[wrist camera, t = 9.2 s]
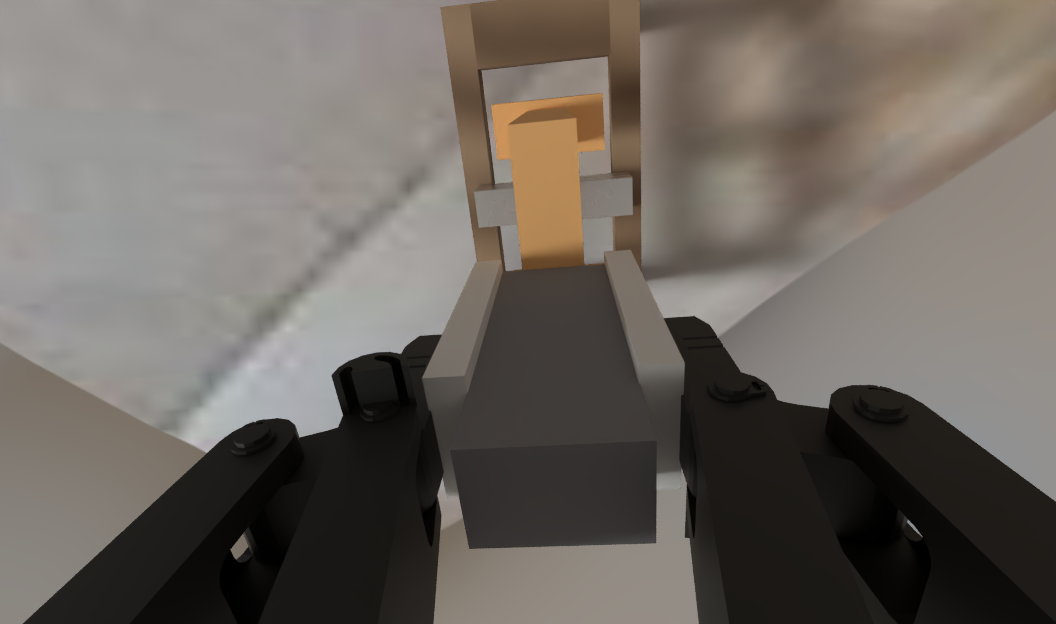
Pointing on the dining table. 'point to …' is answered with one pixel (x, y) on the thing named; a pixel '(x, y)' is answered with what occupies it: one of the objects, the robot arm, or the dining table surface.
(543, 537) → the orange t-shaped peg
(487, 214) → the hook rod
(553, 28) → the brown frame with crossbar
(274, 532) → the robot arm
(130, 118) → the dining table surface
